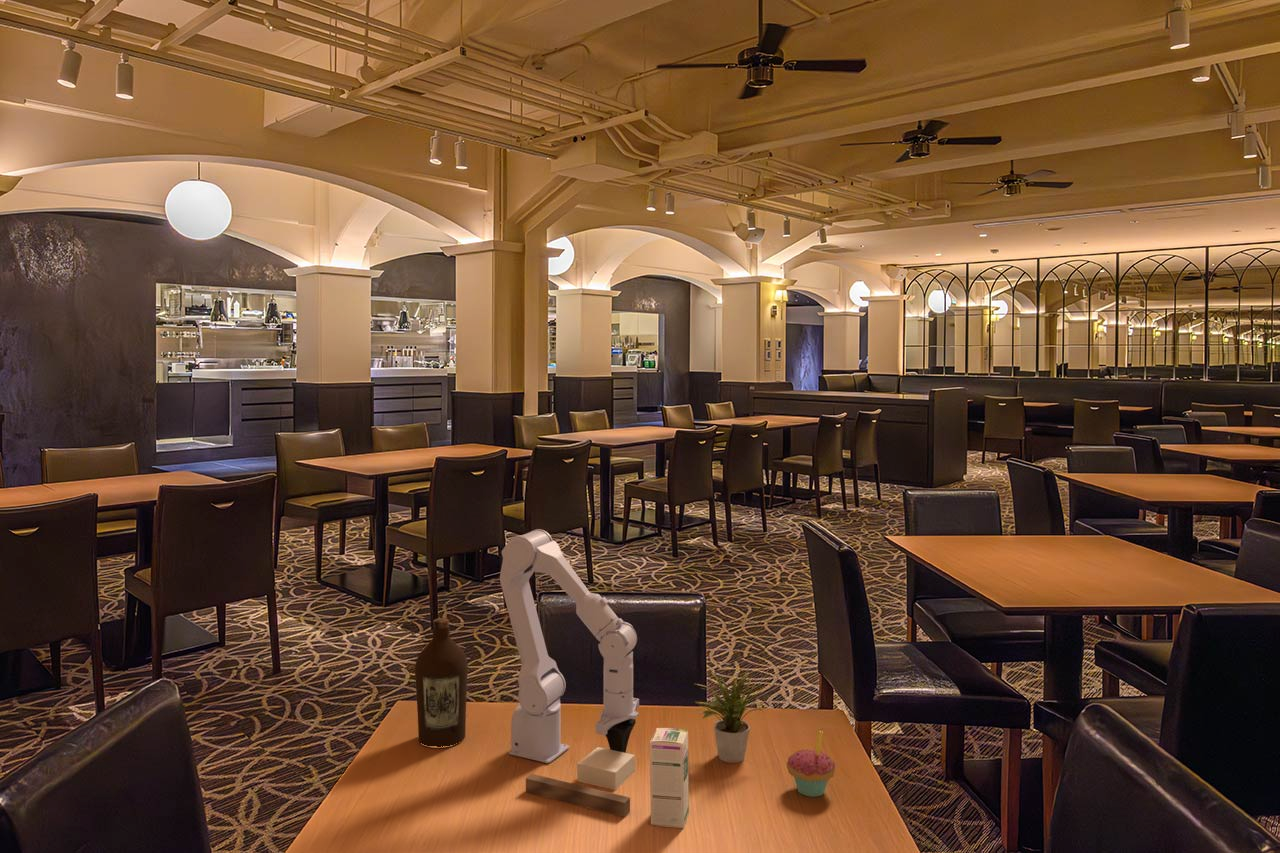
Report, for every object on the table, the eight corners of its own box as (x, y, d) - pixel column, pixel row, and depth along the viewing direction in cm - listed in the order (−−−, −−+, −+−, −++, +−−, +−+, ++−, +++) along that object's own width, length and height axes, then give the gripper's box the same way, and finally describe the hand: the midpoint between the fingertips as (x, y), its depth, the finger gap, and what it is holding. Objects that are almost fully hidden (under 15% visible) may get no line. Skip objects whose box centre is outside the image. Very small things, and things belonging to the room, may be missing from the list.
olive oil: (416, 731, 175) (415, 614, 174) (467, 726, 178) (466, 611, 176) (414, 752, 165) (413, 629, 164) (468, 747, 167) (467, 625, 166)
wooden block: (577, 782, 153) (577, 763, 153) (597, 764, 161) (597, 746, 160) (615, 791, 150) (615, 772, 150) (634, 772, 157) (634, 754, 157)
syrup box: (684, 829, 137) (684, 743, 136) (649, 825, 138) (649, 740, 137) (689, 811, 142) (689, 729, 142) (655, 808, 143) (655, 726, 143)
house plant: (711, 733, 174) (711, 657, 173) (775, 746, 168) (775, 667, 167) (685, 761, 161) (685, 679, 161) (753, 776, 155) (753, 690, 155)
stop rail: (525, 791, 149) (525, 778, 149) (531, 787, 151) (531, 773, 151) (624, 817, 140) (624, 802, 140) (629, 811, 142) (630, 797, 142)
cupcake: (836, 784, 152) (837, 720, 152) (831, 806, 144) (832, 738, 144) (790, 776, 155) (790, 713, 155) (782, 798, 147) (783, 731, 147)
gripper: (619, 704, 151) (619, 777, 152) (652, 679, 164) (652, 746, 165) (585, 698, 154) (586, 769, 155) (621, 674, 167) (621, 739, 168)
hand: (618, 757), depth 160 cm, fingers closed
